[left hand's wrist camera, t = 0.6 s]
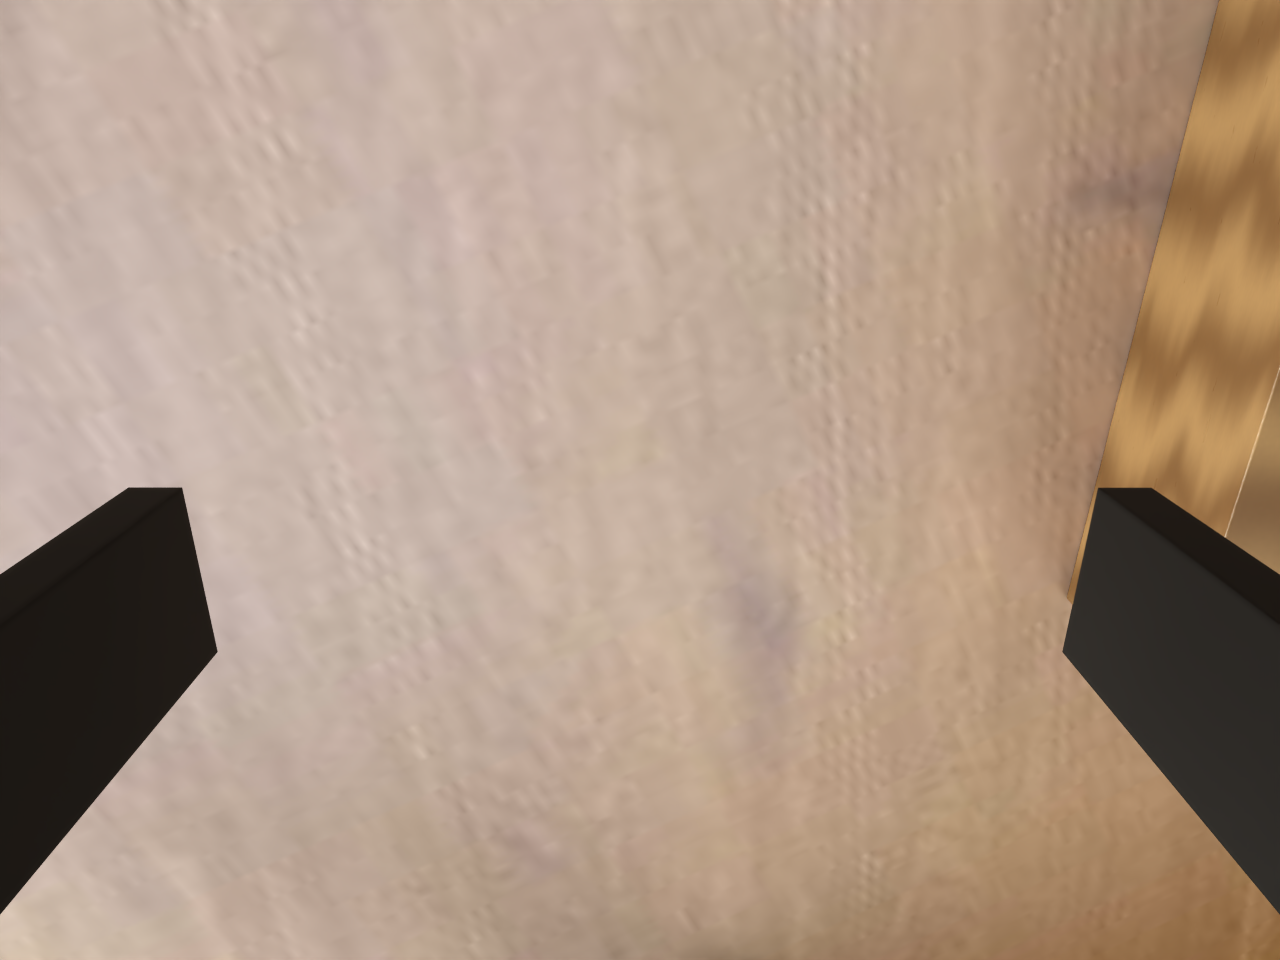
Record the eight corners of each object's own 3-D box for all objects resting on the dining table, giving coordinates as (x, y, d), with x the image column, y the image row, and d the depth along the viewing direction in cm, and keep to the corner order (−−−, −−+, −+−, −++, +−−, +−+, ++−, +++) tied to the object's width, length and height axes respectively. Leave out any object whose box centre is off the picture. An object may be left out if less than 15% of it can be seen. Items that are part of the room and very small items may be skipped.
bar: (1168, 601, 40) (1296, 713, 32) (1065, 598, 40) (1168, 710, 32) (1357, -15, 30) (1603, -67, 23) (1223, -21, 30) (1423, -75, 22)
